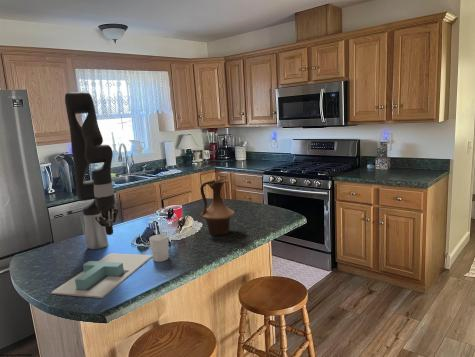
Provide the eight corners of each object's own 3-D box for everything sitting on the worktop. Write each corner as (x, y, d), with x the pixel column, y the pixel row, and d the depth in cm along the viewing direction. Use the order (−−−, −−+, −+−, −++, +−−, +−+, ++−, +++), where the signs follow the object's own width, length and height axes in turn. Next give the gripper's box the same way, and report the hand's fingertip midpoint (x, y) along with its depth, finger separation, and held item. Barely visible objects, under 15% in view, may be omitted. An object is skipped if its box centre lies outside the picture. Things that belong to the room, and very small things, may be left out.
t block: (63, 288, 139) (61, 278, 138) (90, 269, 154) (89, 260, 153) (99, 291, 135) (98, 281, 134) (124, 272, 150) (122, 262, 149)
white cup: (154, 264, 157) (151, 241, 155) (149, 258, 164) (147, 236, 162) (172, 259, 160) (169, 237, 159) (166, 253, 167) (164, 232, 166)
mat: (51, 293, 137) (51, 292, 136) (110, 254, 171) (110, 253, 171) (102, 298, 131) (102, 296, 130) (152, 256, 165) (152, 255, 165)
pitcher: (208, 240, 181) (203, 184, 176) (197, 230, 196) (192, 179, 191) (240, 233, 188) (237, 179, 182) (228, 224, 203) (224, 174, 198)
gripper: (106, 190, 157) (111, 228, 161) (85, 198, 145) (92, 239, 148) (121, 190, 155) (126, 229, 159) (102, 198, 143) (108, 240, 146)
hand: (110, 234), depth 154 cm, fingers closed
